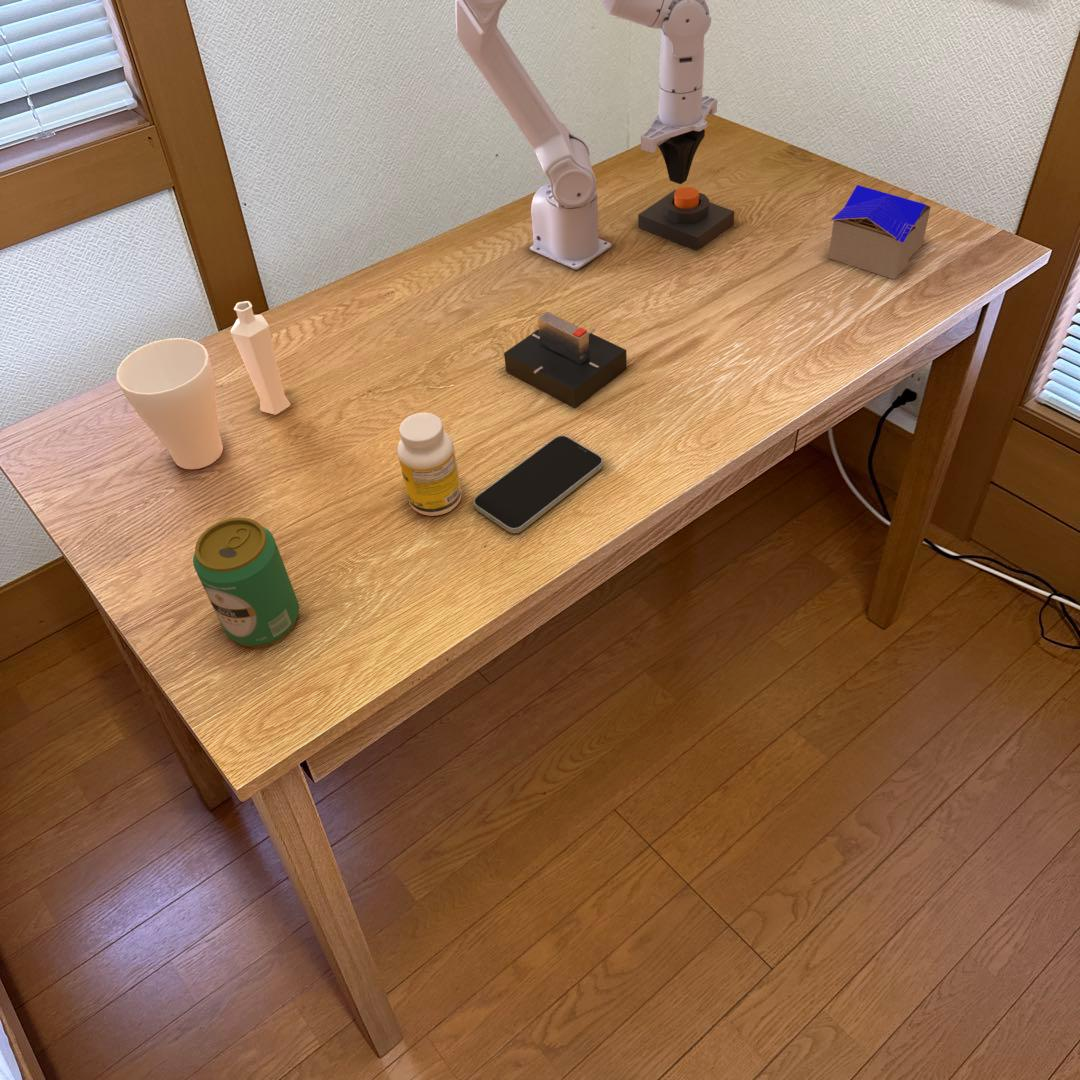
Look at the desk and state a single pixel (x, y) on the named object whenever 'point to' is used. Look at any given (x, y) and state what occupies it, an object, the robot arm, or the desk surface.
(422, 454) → the pill bottle
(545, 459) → the smartphone
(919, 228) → the house
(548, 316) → the tap handle
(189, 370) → the cup
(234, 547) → the beverage can
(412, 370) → the desk surface
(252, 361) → the perfume bottle
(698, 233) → the button block
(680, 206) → the button
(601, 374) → the panel
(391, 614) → the desk surface
